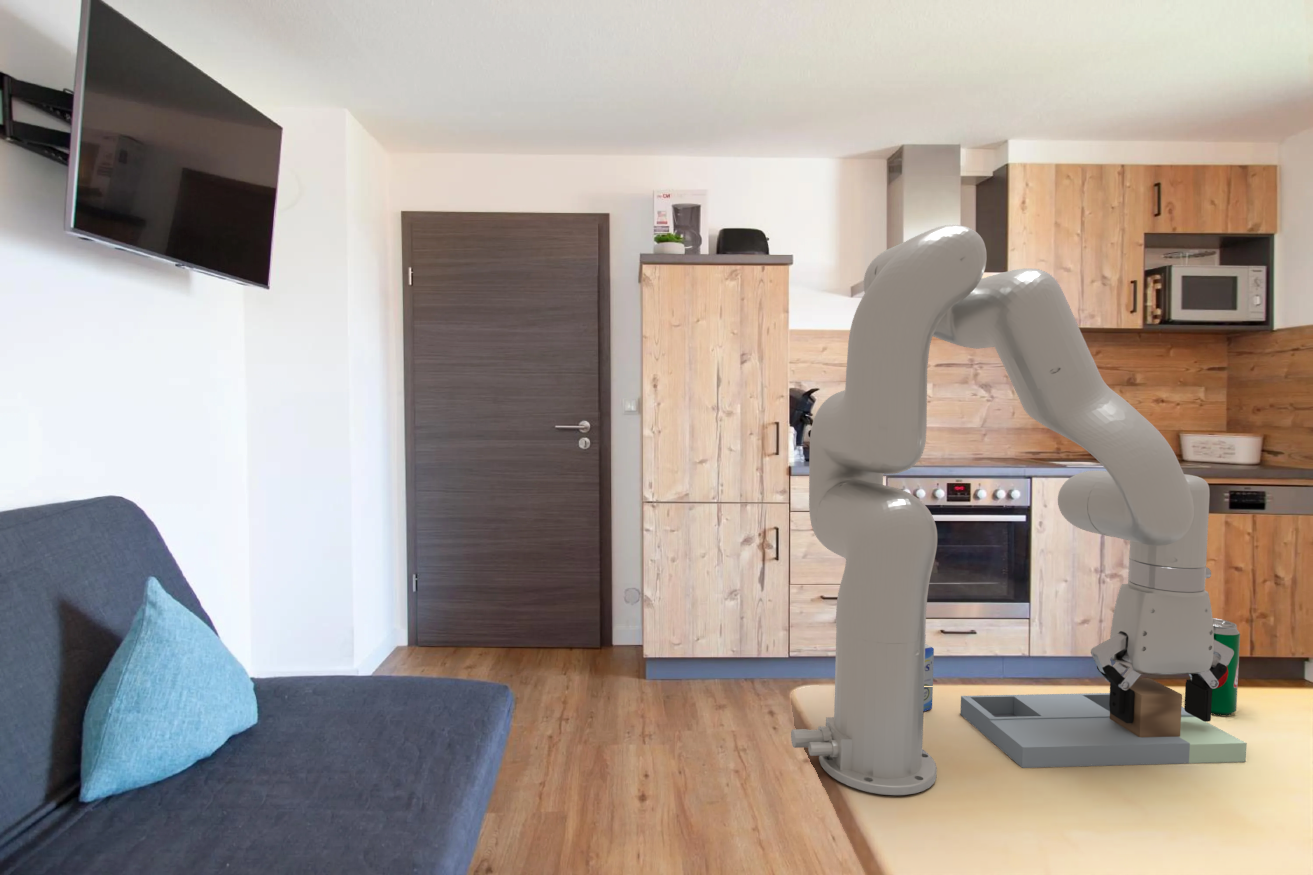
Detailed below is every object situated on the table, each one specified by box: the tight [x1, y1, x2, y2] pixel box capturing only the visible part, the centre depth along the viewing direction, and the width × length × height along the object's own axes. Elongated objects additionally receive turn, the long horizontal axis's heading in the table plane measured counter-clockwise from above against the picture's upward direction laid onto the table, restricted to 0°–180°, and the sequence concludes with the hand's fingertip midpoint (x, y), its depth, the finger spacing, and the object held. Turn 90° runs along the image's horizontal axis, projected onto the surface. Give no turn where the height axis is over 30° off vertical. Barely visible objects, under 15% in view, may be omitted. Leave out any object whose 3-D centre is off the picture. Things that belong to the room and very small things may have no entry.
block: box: [1110, 677, 1183, 737], centre depth 86 cm, size 5×5×5 cm
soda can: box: [1189, 617, 1241, 716], centre depth 98 cm, size 5×5×12 cm
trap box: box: [960, 692, 1248, 769], centre depth 89 cm, size 27×14×2 cm, turn 94°
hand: (1159, 717), depth 87 cm, fingers open, 9 cm apart
